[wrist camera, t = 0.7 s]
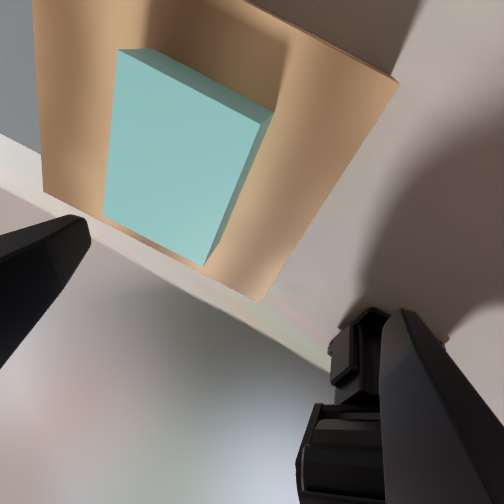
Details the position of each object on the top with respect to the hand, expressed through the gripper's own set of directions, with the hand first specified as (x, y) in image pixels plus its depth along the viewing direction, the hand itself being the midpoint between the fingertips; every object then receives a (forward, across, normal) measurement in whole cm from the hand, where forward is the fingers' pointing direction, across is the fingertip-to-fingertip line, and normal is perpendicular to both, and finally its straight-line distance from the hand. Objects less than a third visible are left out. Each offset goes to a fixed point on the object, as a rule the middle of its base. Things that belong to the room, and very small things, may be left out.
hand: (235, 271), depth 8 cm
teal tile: (+7, +4, +1) cm, 8 cm away
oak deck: (+12, +5, +2) cm, 13 cm away
